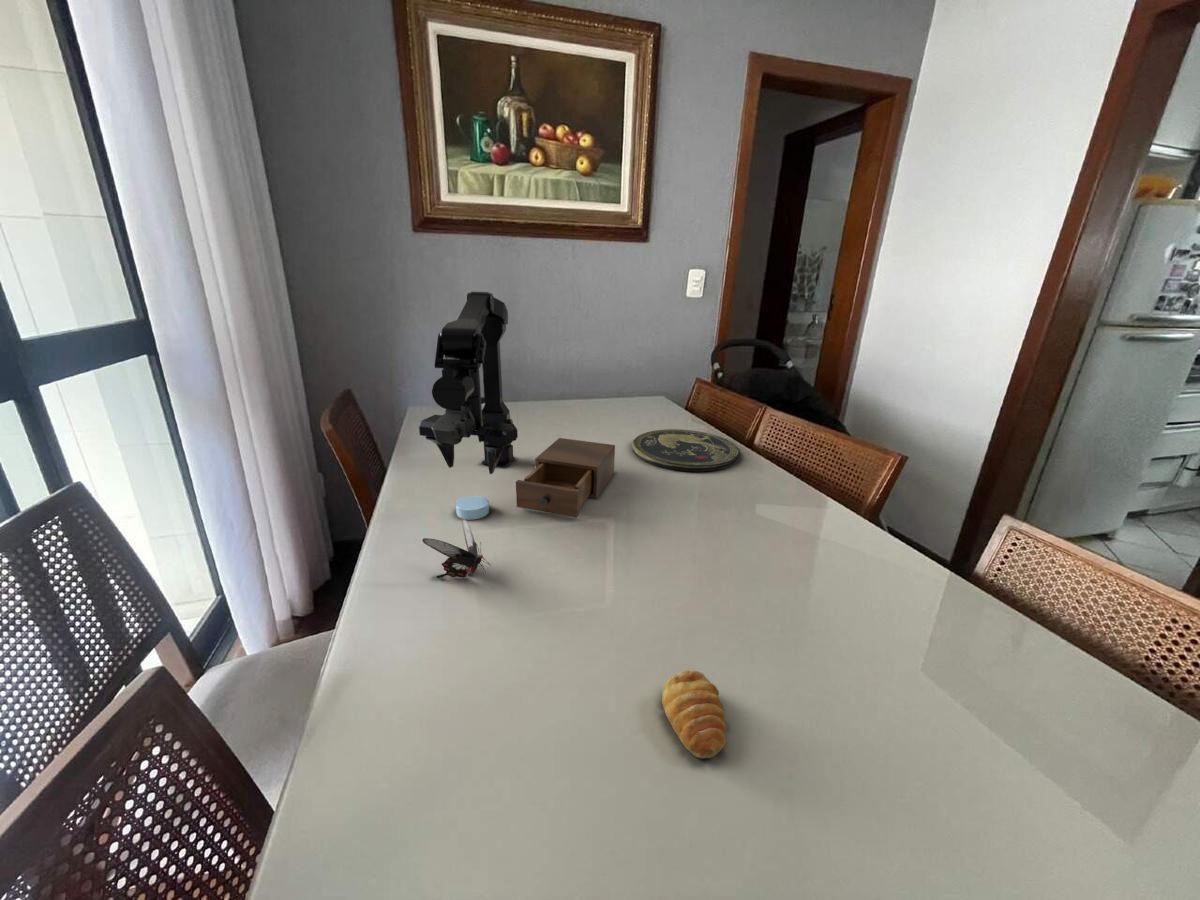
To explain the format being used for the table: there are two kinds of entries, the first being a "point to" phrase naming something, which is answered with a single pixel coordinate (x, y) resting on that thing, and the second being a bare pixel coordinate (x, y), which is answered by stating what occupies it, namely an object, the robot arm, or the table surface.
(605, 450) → the cabinet
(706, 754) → the pastry
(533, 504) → the drawer
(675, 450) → the decorative plate
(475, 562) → the butterfly
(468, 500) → the light blue disc
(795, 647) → the table surface
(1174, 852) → the table surface
